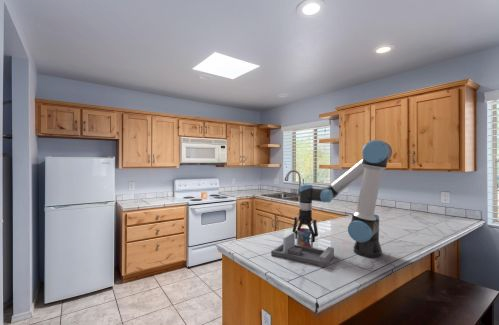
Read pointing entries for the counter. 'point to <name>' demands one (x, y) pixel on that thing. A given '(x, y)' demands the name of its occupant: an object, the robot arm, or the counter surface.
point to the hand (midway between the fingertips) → (304, 245)
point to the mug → (304, 237)
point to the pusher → (290, 245)
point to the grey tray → (307, 255)
